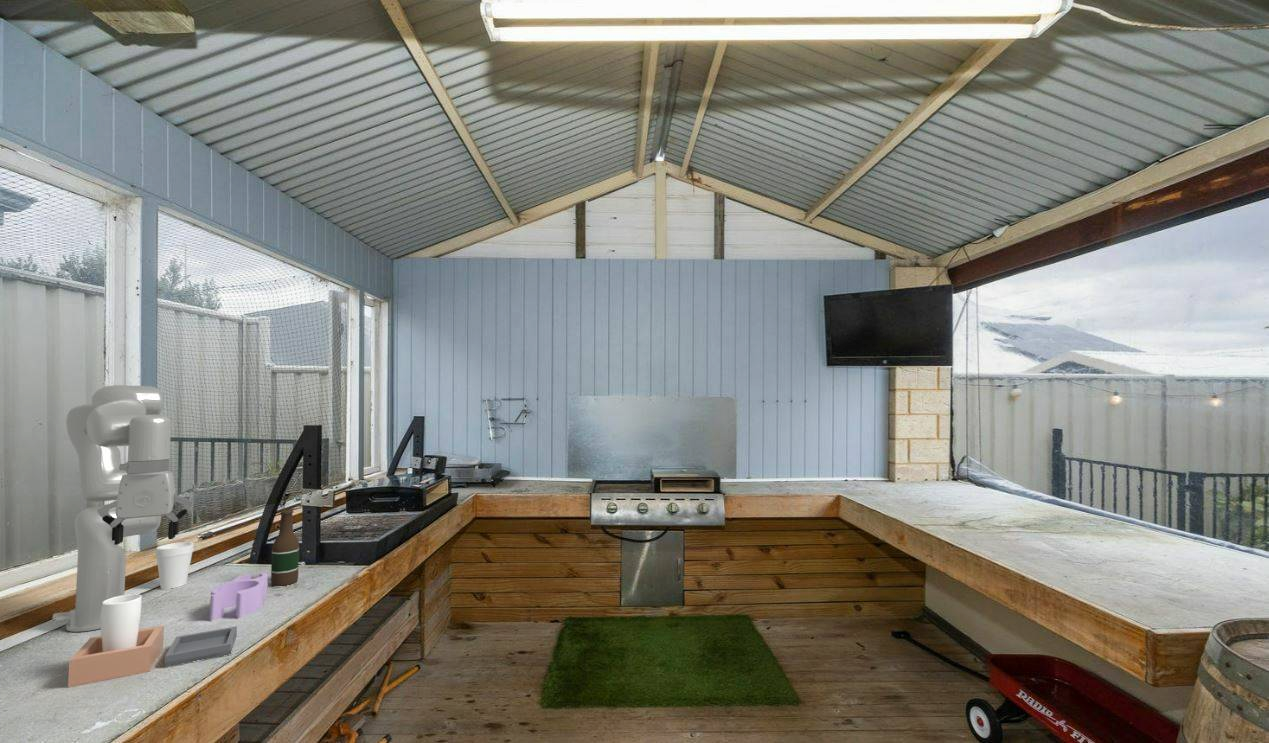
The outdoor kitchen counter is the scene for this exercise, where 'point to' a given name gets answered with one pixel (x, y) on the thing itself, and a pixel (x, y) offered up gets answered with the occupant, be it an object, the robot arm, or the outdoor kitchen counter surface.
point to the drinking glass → (120, 622)
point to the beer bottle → (285, 553)
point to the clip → (239, 595)
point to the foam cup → (174, 563)
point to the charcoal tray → (201, 646)
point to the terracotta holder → (115, 658)
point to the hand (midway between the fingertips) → (145, 540)
